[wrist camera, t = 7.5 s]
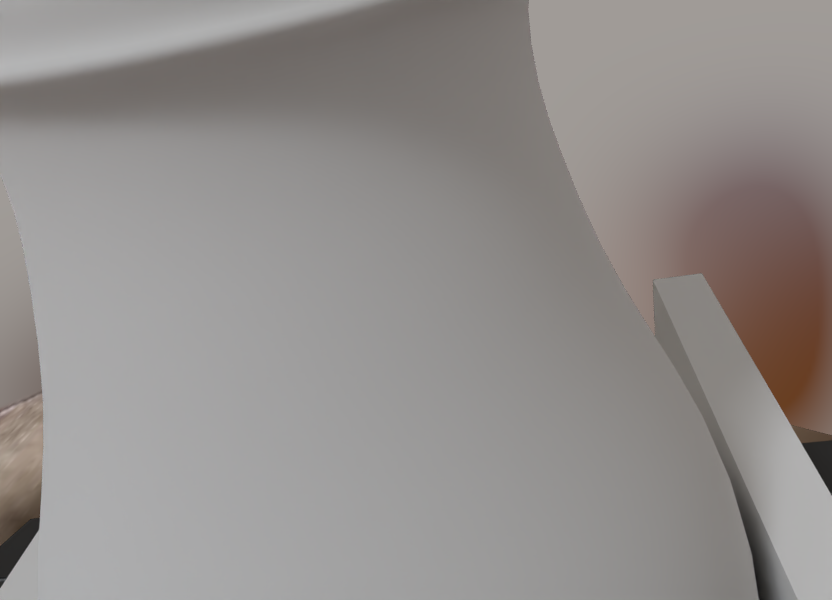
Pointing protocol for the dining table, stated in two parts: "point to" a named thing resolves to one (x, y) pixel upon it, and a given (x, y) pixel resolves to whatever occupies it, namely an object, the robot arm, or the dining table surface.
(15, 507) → the dining table surface
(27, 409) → the dining table surface
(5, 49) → the milk bottle
